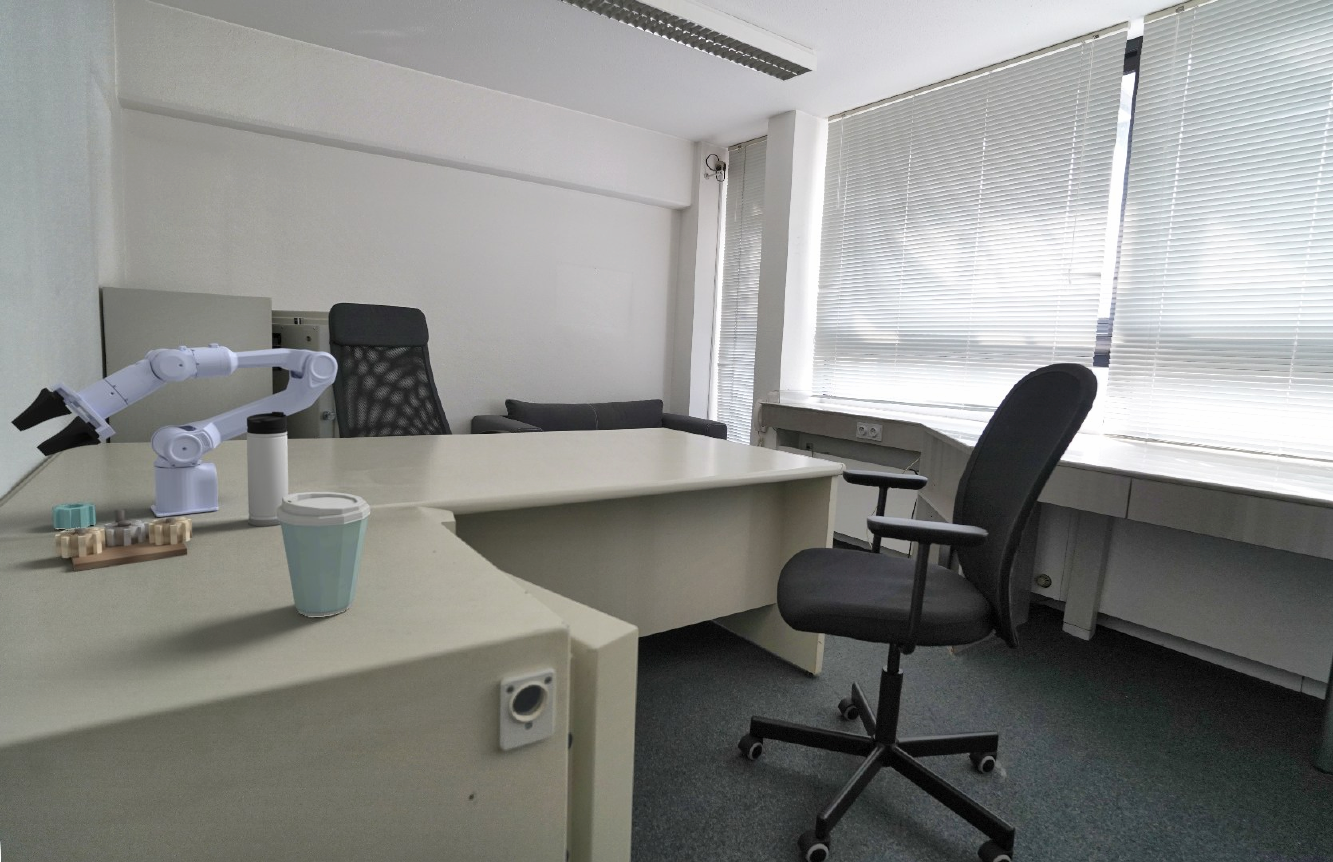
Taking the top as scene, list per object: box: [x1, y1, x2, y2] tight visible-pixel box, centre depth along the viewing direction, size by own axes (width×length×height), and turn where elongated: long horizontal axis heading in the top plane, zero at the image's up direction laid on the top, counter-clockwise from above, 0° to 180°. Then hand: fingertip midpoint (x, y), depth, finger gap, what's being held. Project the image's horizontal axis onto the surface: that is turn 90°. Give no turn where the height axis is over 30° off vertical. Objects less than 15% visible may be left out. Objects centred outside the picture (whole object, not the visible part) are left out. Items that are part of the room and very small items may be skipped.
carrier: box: [54, 508, 193, 572], centre depth 104 cm, size 16×18×4 cm
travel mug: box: [246, 412, 289, 527], centre depth 120 cm, size 6×7×20 cm
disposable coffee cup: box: [276, 491, 371, 617], centre depth 85 cm, size 11×11×15 cm
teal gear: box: [52, 501, 97, 529], centre depth 112 cm, size 5×5×4 cm
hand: (28, 439), depth 108 cm, fingers open, 7 cm apart
